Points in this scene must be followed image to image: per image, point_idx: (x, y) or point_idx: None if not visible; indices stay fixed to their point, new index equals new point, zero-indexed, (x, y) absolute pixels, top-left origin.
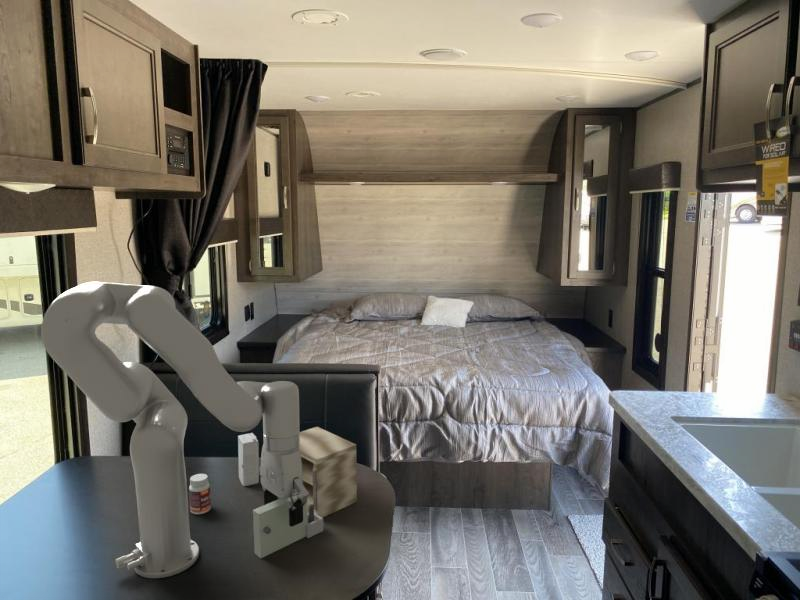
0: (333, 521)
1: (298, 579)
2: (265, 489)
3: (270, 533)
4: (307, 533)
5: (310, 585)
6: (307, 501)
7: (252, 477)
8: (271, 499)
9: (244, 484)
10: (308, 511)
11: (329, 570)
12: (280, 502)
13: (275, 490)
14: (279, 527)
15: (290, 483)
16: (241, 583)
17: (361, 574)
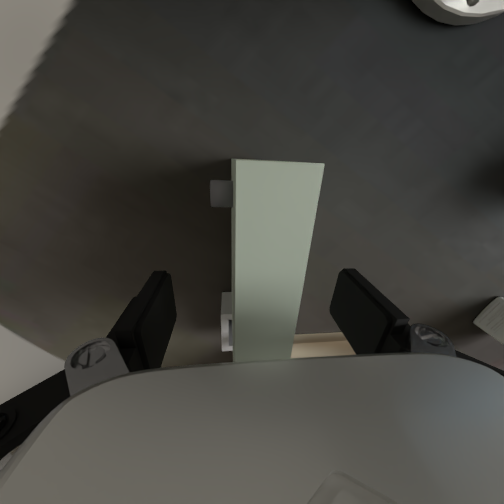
0: None
1: (67, 180)
2: (410, 335)
3: (232, 209)
4: (224, 299)
5: (20, 188)
6: (326, 354)
7: (501, 324)
8: (351, 310)
9: (500, 300)
10: (300, 338)
11: (65, 259)
12: (258, 326)
13: (222, 426)
14: (232, 249)
15: None
16: (151, 15)
17: (10, 300)
